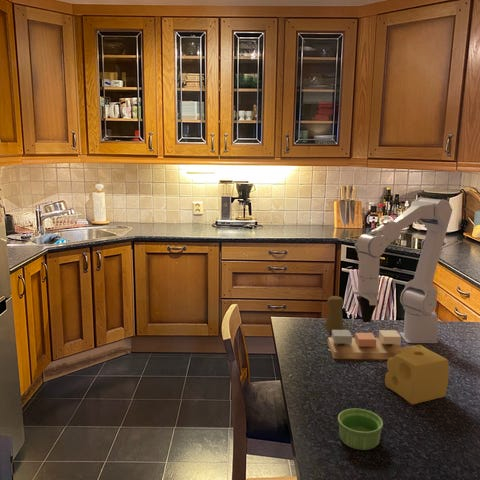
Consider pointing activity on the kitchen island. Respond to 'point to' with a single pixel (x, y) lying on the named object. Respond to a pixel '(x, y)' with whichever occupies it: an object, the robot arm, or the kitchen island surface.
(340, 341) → the button slate
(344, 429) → the ramekin
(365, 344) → the button terracotta
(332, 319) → the butternut squash
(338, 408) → the kitchen island surface
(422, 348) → the cheese
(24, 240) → the kitchen island surface
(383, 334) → the button cream
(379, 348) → the button board
